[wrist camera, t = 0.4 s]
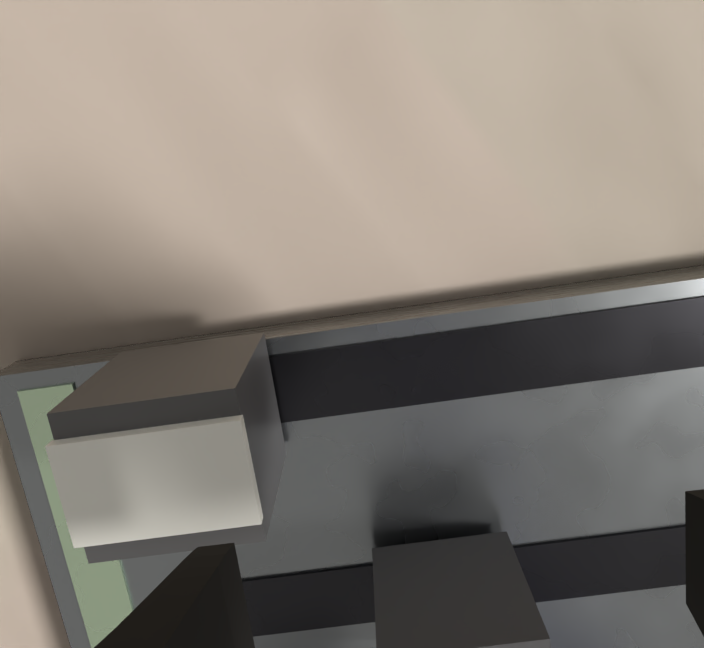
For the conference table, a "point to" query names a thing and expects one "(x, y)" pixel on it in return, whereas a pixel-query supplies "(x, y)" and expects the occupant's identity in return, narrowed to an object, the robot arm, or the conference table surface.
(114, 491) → the block
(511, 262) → the conference table surface
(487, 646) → the breaker
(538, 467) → the panel
